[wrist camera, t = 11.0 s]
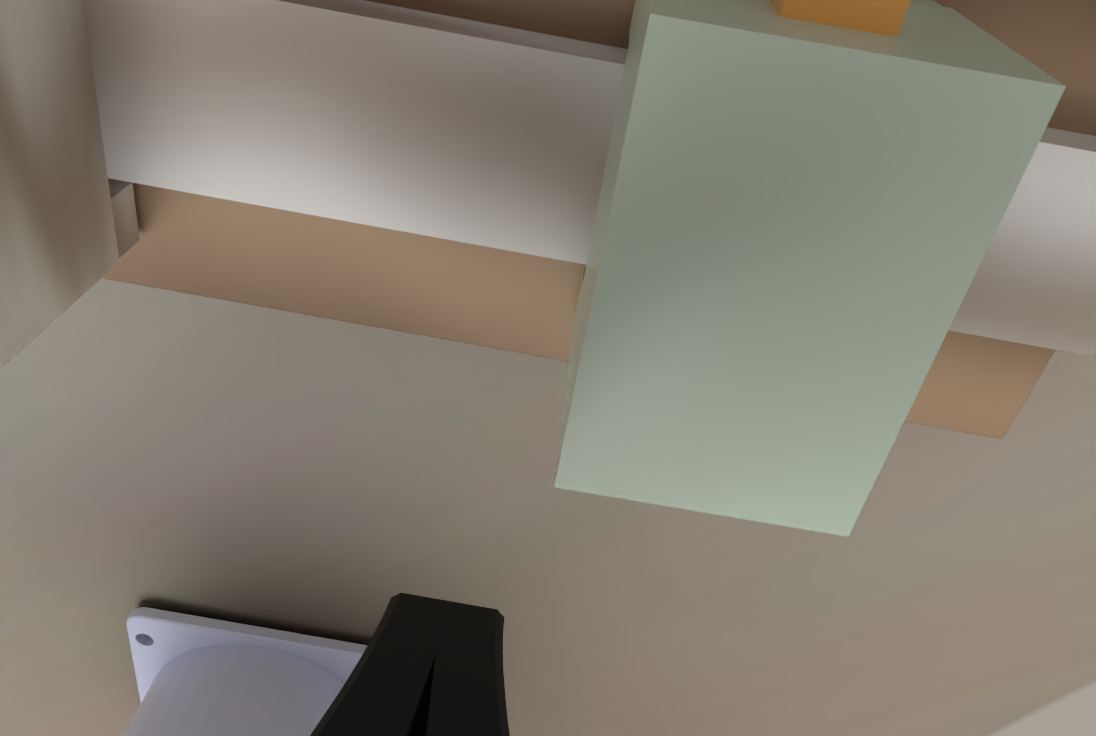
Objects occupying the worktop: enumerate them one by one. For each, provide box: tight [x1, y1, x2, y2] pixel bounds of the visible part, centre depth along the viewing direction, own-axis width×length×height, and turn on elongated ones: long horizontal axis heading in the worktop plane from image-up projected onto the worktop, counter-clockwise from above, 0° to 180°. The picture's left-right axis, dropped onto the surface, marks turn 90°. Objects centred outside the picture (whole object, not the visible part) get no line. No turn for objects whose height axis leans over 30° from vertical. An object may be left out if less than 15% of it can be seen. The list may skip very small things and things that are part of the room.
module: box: [554, 0, 1066, 537], centre depth 13 cm, size 7×4×5 cm, turn 172°
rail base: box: [0, 0, 1096, 439], centre depth 14 cm, size 9×24×6 cm, turn 81°
